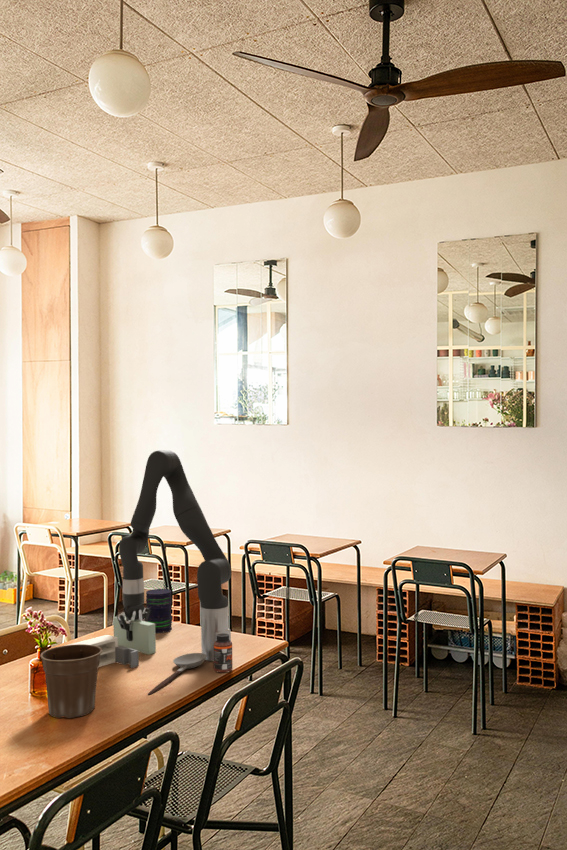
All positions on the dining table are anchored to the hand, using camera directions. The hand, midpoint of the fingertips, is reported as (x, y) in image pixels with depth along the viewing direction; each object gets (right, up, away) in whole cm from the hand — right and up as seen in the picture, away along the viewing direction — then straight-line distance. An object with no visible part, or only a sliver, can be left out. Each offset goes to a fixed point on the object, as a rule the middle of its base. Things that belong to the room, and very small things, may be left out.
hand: (134, 639), depth 260 cm
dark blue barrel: (+5, -4, +25) cm, 26 cm away
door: (0, -3, 0) cm, 3 cm away
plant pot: (-5, -2, -59) cm, 60 cm away
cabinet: (-8, -3, -24) cm, 25 cm away
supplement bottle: (+34, -2, -27) cm, 43 cm away
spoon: (+19, -3, -33) cm, 38 cm away
